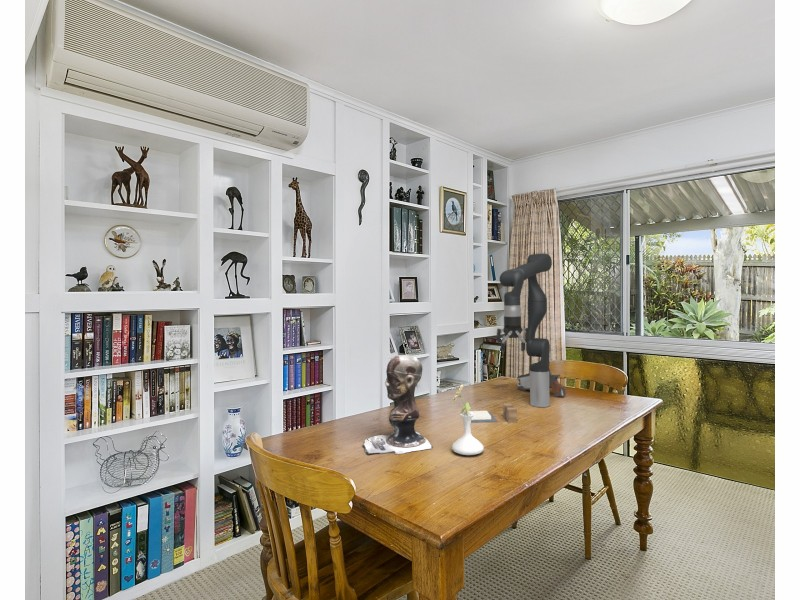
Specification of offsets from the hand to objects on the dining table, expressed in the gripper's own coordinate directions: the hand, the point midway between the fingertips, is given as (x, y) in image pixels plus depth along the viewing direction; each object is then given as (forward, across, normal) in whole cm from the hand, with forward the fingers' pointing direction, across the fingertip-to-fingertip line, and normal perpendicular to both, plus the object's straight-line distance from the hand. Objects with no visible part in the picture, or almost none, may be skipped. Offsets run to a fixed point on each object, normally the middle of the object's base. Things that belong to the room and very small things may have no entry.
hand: (513, 351), depth 201 cm
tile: (+28, +16, -4) cm, 33 cm away
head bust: (+30, +54, +31) cm, 69 cm away
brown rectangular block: (+30, +3, +3) cm, 30 cm away
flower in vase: (+30, +28, +42) cm, 59 cm away
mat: (+30, +16, -1) cm, 34 cm away
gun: (+30, -26, -45) cm, 60 cm away
